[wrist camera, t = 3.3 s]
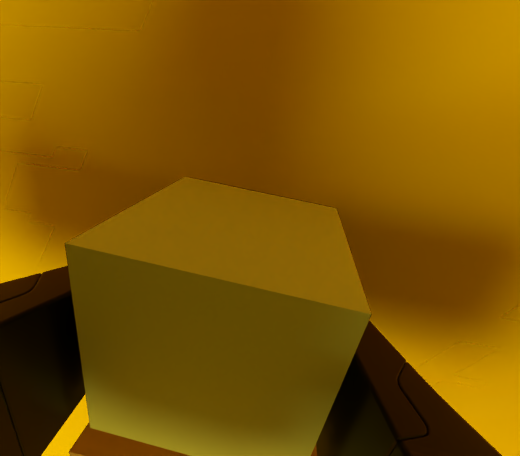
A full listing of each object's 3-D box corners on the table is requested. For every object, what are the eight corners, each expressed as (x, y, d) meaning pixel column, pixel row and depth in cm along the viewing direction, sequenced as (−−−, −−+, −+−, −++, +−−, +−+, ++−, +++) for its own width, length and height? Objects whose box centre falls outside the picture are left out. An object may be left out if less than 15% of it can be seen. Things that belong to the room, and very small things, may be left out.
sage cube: (185, 176, 9) (64, 243, 5) (336, 208, 9) (371, 314, 4) (178, 297, 11) (90, 428, 7) (300, 327, 11) (297, 485, 6)
